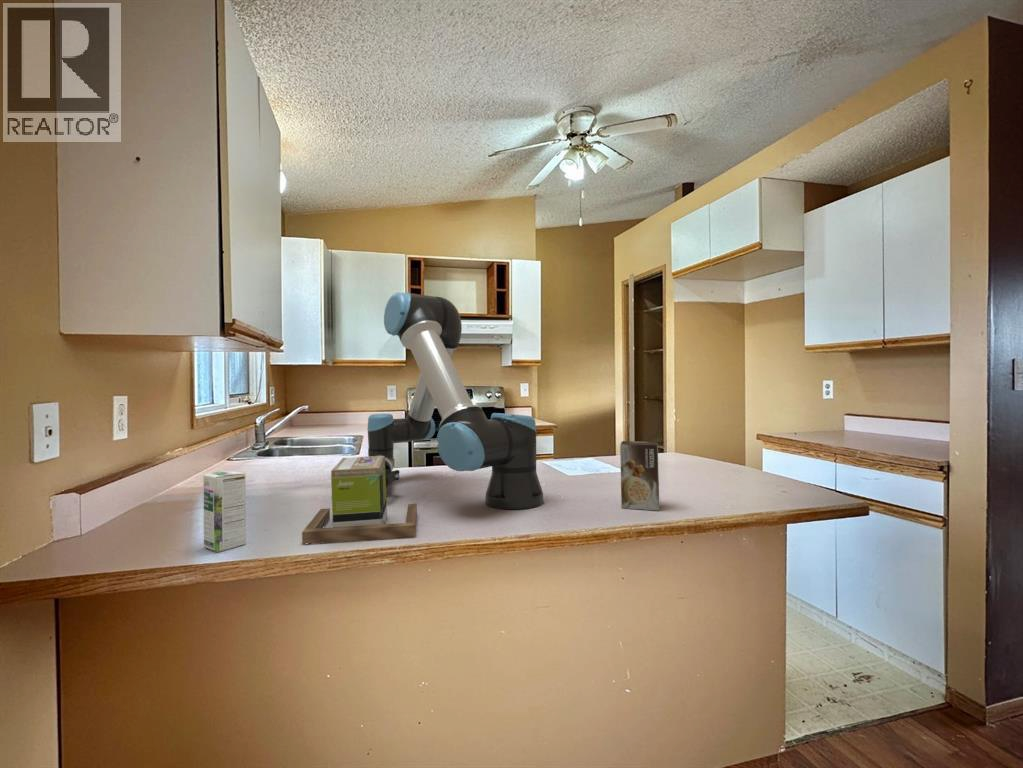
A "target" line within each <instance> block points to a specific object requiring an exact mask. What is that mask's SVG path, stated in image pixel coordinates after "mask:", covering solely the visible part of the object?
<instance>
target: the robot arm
mask: <svg viewBox="0 0 1023 768" xmlns="http://www.w3.org/2000/svg"><path fill="white" fill-rule="evenodd" d="M385 305H386V306H385V308H384V313H383V314H384V315H383V324H384V325H383V326H384V329H385V331H386V333H388V334H389V335H391V336H393V337H394V336H397V337H398V338H399V340H400V343H401V345H402V346H403V347H404V348H405V349H408V350H410V351H411V353H412V354H411V355H413V358H414V360H415V362H416V364H417V367H418V369H419V372H420V373H419V376H418V380H417V383H416V387H415V388H414V389H415V390H414V393H413V396H412V399H411V403H410V405H409V406H410V407H409V410H408V413H407V415H406V417H405V418H394V417H393V414H392V413H373V414H372V413H371V414H370V415H369V416H368V418H367V441H368V443H367V444H368V447H367V449H368V451H367V453H368V455H367V456H385V476H386V488H387V487H389V486H390V485H392V484H393V483H395V482H396V481H398V480H400V469H396V470H394V467H395V458H394V457H395V456H394V446H395V445H394V444H397V443H398V444H399V443H406V442H407V443H408V442H417V441H419V442H420V441H424V440H428V439H429V440H430V439H431V438H433V436H434V435H435V432H436V429H435V427H436V423H435V421H434V419H433V417H432V416H433V413H434V411H435V408H436V409H437V411H438V414H439V416H440V418H441V421H440V423H439V425H438V429H439V430H438V433H437V436H436V442H437V443H438V444H436V447H437V451H438V454H439V456H440V459H441V461H442V462H443V463H444V464H445V465H446V466H447V467H448V468H449V469H451V470H453V471H456V472H474V471H476V470H481V469H485V468H490V467H491V475H490V478H489V482H488V485H487V488H486V491H485V504H486V505H487V506H489V507H492V508H497V509H503V510H524V509H531V508H535V507H538V506H540V505H542V504H544V491H543V488H542V486H541V481H540V479H539V477H538V473H537V425H536V420H535V417H533V416H531V415H526V414H525V415H523V414H515V413H514V414H511V413H500V412H498V413H497V412H494V413H493V412H492V414H491V416H490V419H488V417H487V416H486V414H485V412H484V410H483V408H482V407H481V405H476V404H473V401H472V399H471V397H470V394H469V393H468V391H467V389H466V387H465V384H464V383H463V381H462V379H461V377H460V374H459V373H458V370H457V368H456V367H455V364H454V363H453V360H452V359H451V358H452V355H453V352H454V351H455V350H457V349H458V347H459V344H460V342H461V338H462V329H463V327H462V320H461V319H462V318H461V316H460V312H459V311H458V308H457V307H456V306H455V304H453V302H452V301H450V300H449V299H447V298H445V297H442V296H432V295H428V294H427V295H425V294H418V293H412V292H411V293H410V292H408V291H407V292H396V293H393V294H392V295H391V296H390V297H389V298H388V300H387V302H386V304H385Z"/></svg>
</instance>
